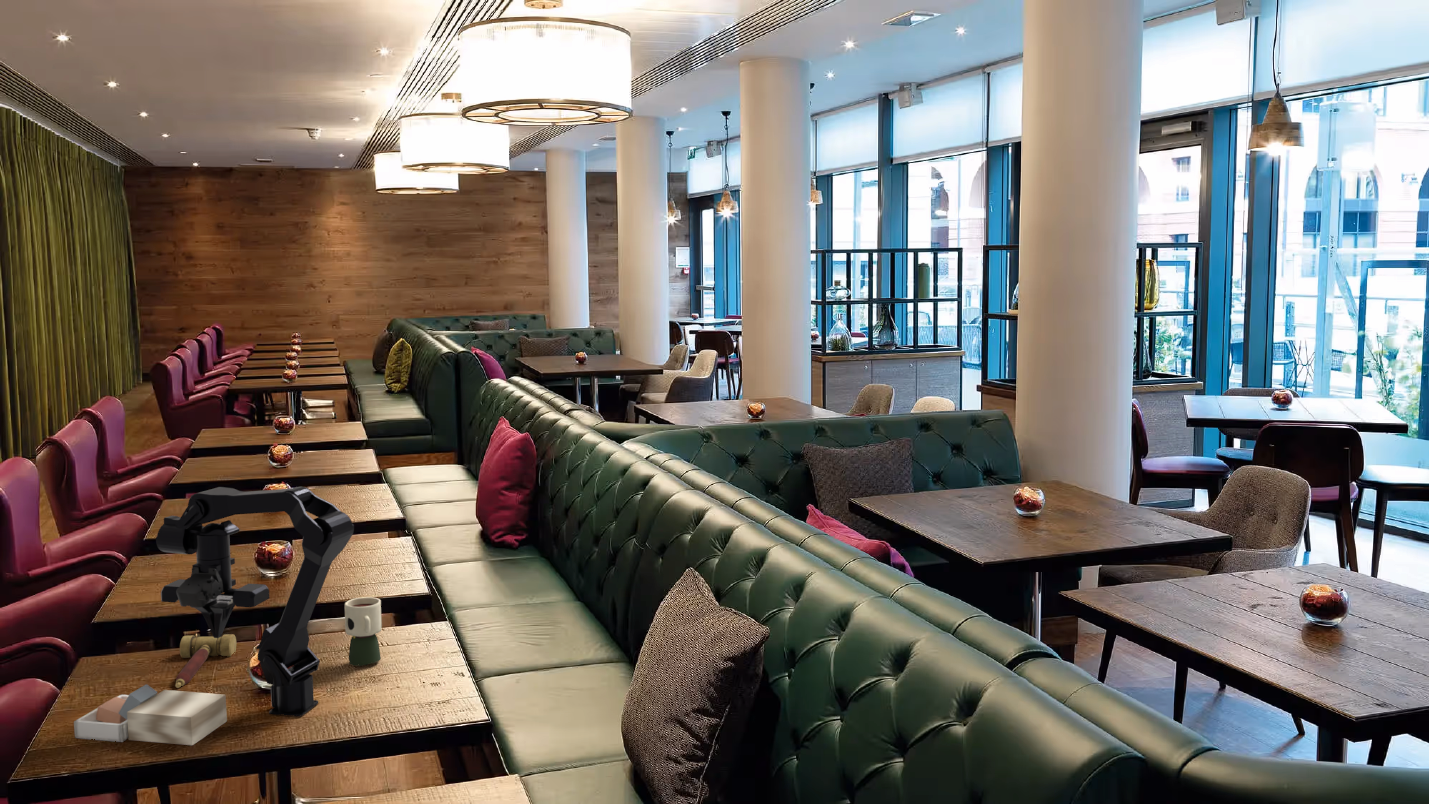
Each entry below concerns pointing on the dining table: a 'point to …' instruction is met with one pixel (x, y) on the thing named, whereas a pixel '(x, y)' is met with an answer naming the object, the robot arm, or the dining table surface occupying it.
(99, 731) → the box
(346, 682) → the dining table surface
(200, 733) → the wooden square block
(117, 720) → the terracotta tile
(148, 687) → the slate tile
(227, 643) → the gavel
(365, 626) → the character mug
